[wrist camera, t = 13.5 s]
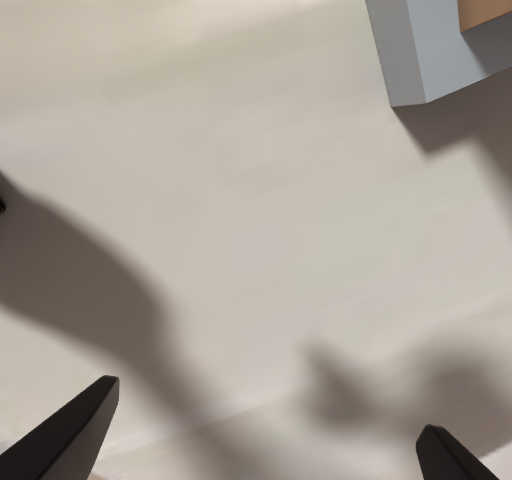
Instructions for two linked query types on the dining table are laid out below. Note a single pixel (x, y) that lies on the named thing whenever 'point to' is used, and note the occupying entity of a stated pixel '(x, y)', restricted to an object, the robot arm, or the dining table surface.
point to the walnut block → (481, 11)
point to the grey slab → (435, 48)
